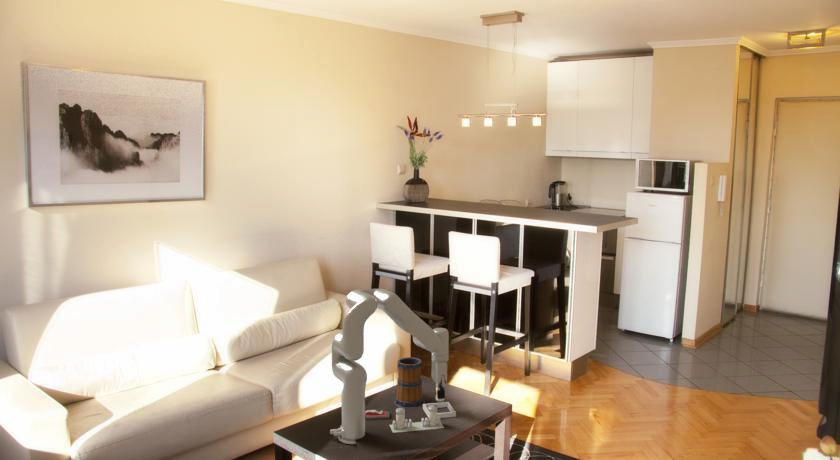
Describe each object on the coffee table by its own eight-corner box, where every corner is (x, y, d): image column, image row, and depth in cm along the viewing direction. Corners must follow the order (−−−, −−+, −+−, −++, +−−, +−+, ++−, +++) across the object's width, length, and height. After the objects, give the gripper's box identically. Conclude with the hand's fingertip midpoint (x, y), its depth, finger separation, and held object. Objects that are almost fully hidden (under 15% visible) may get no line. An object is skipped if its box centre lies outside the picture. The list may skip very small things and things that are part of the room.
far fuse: (429, 427, 280) (429, 408, 279) (427, 423, 283) (427, 405, 282) (438, 426, 280) (438, 408, 279) (435, 422, 284) (436, 404, 283)
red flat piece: (391, 415, 296) (346, 416, 294) (391, 405, 296) (346, 406, 294) (392, 423, 288) (345, 424, 286) (392, 413, 287) (345, 414, 285)
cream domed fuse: (396, 430, 276) (396, 411, 275) (395, 426, 280) (395, 408, 279) (405, 429, 277) (405, 410, 276) (403, 425, 281) (403, 407, 280)
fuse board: (392, 436, 274) (392, 425, 273) (389, 428, 282) (389, 417, 281) (444, 431, 279) (444, 421, 278) (439, 423, 287) (439, 413, 286)
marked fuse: (437, 401, 292) (436, 384, 291) (434, 398, 296) (434, 381, 294) (445, 401, 293) (445, 383, 292) (443, 397, 296) (442, 380, 295)
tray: (429, 422, 288) (429, 414, 287) (422, 411, 299) (422, 404, 299) (455, 419, 291) (456, 412, 290) (448, 409, 302) (448, 401, 302)
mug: (385, 395, 318) (385, 355, 315) (413, 391, 324) (413, 351, 321) (401, 410, 300) (401, 367, 298) (430, 405, 306) (430, 363, 304)
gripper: (427, 351, 299) (427, 390, 301) (436, 363, 283) (436, 404, 285) (443, 350, 300) (443, 388, 303) (453, 361, 284) (453, 402, 287)
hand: (439, 396), depth 294 cm, fingers closed on marked fuse, 3 cm apart
